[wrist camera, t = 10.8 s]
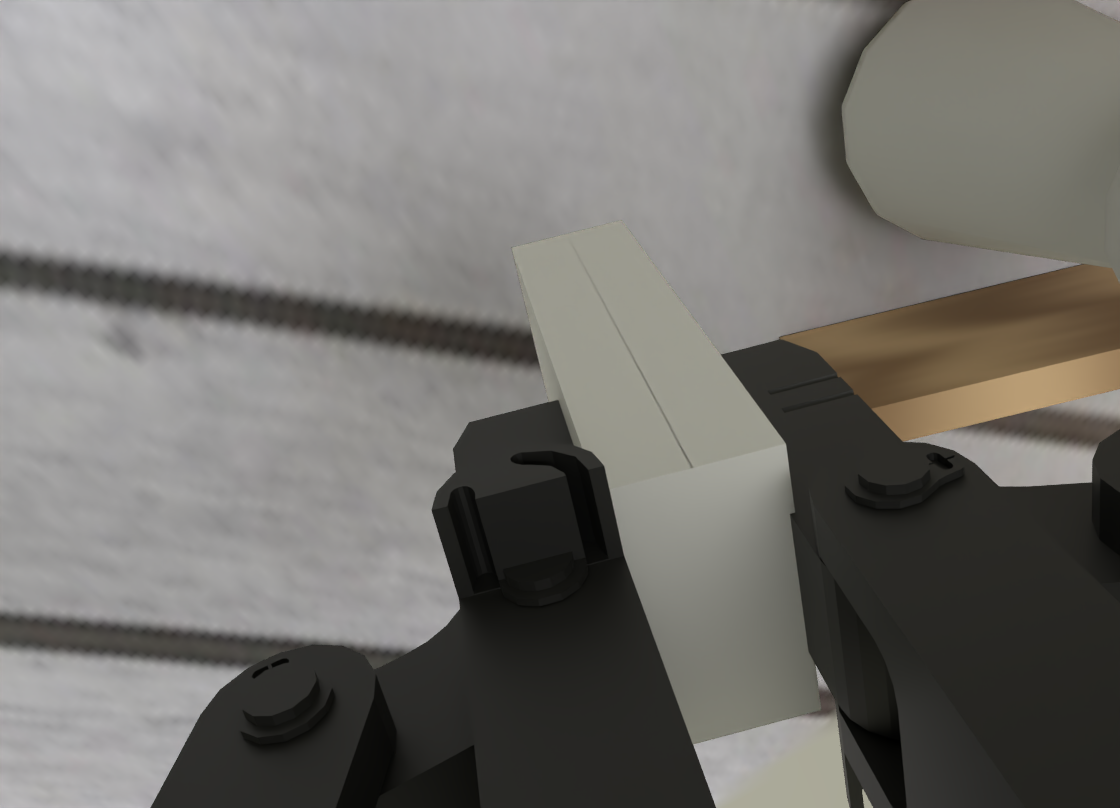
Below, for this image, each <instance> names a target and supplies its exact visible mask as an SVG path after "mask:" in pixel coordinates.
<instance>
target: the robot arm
mask: <svg viewBox="0 0 1120 808" xmlns="http://www.w3.org/2000/svg"><path fill="white" fill-rule="evenodd" d="M511 248H512V252H513V256H514V260H515V265H516V269H517V273H518V277H519V281H520V285H521V289H522V294H523V298H524V302H525V306H526V310H527V314H528V319H529V323H530V327H531V331H532V335H533V339H534V344H535V348H536V352H537V356H538V360H539V364H540V369H541V373H542V377H543V381H544V385H545V389H546V393H547V398H548V402H547V403H544V404H540V405H536V406H532V407H528V408H524V409H520V410H516V411H512V412H508V413H504V414H500V415H496V416H492V417H489V418H485V419H481V420H477V421H473V422H469V424H468V425H467V427H466V429H465V430H464V432H463V434H462V435H461V437H460V439H459V440H458V442H457V443H456V445H455V447H454V448H453V452H454V461H455V469H456V473H454V474H453V475H452V476H451V477H450V478H449V479H448V480H447V481H446V483H445V484H444V485H443V486H442V487H441V488H440V489H439V490H438V491H437V493H436V497H435V500H434V504H433V507H432V513H433V516H434V520H435V523H436V526H437V529H438V533H439V536H440V539H441V542H442V545H443V549H444V552H445V555H446V558H447V562H448V565H449V568H450V571H451V574H452V578H453V581H454V584H455V587H456V591H457V594H458V597H459V602H460V610H459V611H458V612H457V613H456V615H455V616H454V617H453V618H452V620H451V621H450V622H449V623H448V625H447V626H446V627H444V628H443V629H442V630H441V631H440V632H438V633H437V634H436V635H435V636H434V637H432V638H431V639H430V640H429V641H428V642H426V643H424V644H423V645H421V646H419V647H417V648H416V649H414V650H412V651H411V652H409V653H407V654H406V655H404V656H402V657H400V658H398V659H396V660H394V661H392V662H390V663H388V664H386V665H384V666H382V667H380V668H378V669H376V670H373V668H372V667H371V665H370V663H369V662H368V660H367V659H366V657H365V656H364V655H362V654H360V653H358V652H355V651H353V650H351V649H349V648H346V647H344V646H333V645H311V646H306V647H302V648H298V649H294V650H289V651H285V652H281V653H279V654H276V655H274V656H272V657H269V658H268V659H266V660H263V661H261V662H259V663H257V664H256V665H253V666H251V667H249V668H247V669H246V670H245V671H244V672H242V673H241V674H240V675H238V676H237V677H236V678H235V679H233V680H232V681H231V682H229V683H228V684H227V685H225V686H224V687H223V688H222V689H220V690H219V692H218V693H217V694H216V696H215V697H214V698H213V699H212V701H211V702H210V703H209V705H208V706H207V707H206V709H205V710H204V711H203V712H202V714H201V715H200V717H199V719H198V721H197V723H196V724H195V726H194V728H193V730H192V732H191V734H190V736H189V737H188V739H187V741H186V743H185V745H184V747H183V749H182V750H181V752H180V754H179V756H178V758H177V760H176V762H175V763H174V765H173V767H172V769H171V771H170V773H169V775H168V777H167V778H166V780H165V782H164V784H163V786H162V788H161V790H160V791H159V793H158V795H157V797H156V799H155V801H154V803H153V804H152V806H151V808H716V807H715V804H714V801H713V798H712V796H711V793H710V790H709V787H708V785H707V782H706V779H705V776H704V774H703V771H702V768H701V765H700V763H699V760H698V757H697V754H696V752H695V749H694V746H693V744H696V743H700V742H704V741H707V740H711V739H715V738H719V737H722V736H726V735H730V734H734V733H737V732H741V731H745V730H748V729H752V728H756V727H760V726H763V725H767V724H771V723H775V722H778V721H782V720H786V719H789V718H793V717H797V716H801V715H804V714H808V713H812V712H816V711H819V710H821V704H820V697H819V689H818V682H817V674H816V667H815V664H816V666H817V668H818V670H819V671H820V673H821V675H822V677H823V679H824V680H825V682H826V684H827V686H828V687H829V689H830V691H831V693H832V695H833V696H834V698H835V704H836V712H837V720H838V728H839V735H840V744H841V752H842V760H843V768H844V776H845V784H846V792H847V798H848V802H849V807H850V808H864V804H863V795H862V789H864V791H865V793H866V795H867V797H868V799H869V801H870V802H871V804H872V806H873V808H1120V430H1118V431H1117V432H1115V433H1114V434H1112V435H1111V436H1109V437H1108V438H1106V439H1105V440H1103V441H1102V442H1100V443H1099V446H1098V448H1097V450H1096V453H1095V455H1094V458H1093V461H1092V483H1077V484H1061V485H1046V486H1030V487H1000V486H998V485H997V484H996V483H995V482H994V481H993V480H991V479H990V478H989V477H988V476H987V475H986V474H985V473H984V472H983V471H982V470H981V469H980V468H979V467H978V466H977V465H976V464H975V463H973V462H972V461H970V460H968V459H967V458H965V457H964V456H962V455H960V454H959V453H957V452H955V451H954V450H950V449H946V448H943V447H939V446H935V445H931V444H927V443H916V442H903V441H902V440H901V439H900V438H899V437H898V436H897V435H896V434H895V433H894V432H893V431H892V430H891V429H890V428H889V427H888V426H887V425H886V424H885V423H884V422H883V421H882V419H881V418H880V417H879V416H878V415H877V414H876V413H875V412H874V411H873V410H872V409H871V408H870V407H869V406H868V405H867V404H866V403H865V402H864V401H863V400H862V399H861V397H860V396H859V395H858V394H856V395H854V392H853V389H852V388H851V387H850V386H849V385H848V384H847V383H846V382H845V381H844V380H843V379H842V378H841V377H838V376H837V372H836V371H835V370H834V369H833V368H832V367H831V366H830V365H829V364H828V363H827V362H826V361H825V360H824V359H823V358H822V357H821V356H820V355H819V354H818V353H817V352H815V351H813V350H810V349H807V348H804V347H802V346H799V345H796V344H794V343H791V342H788V341H786V340H783V339H781V340H777V341H773V342H769V343H765V344H761V345H757V346H753V347H750V348H746V349H742V350H738V351H734V352H730V353H726V354H722V355H720V353H719V352H718V351H717V349H716V348H715V347H714V345H713V344H712V342H711V341H710V340H709V338H708V337H707V336H706V334H705V333H704V332H703V330H702V329H701V327H700V326H699V325H698V323H697V322H696V321H695V319H694V318H693V317H692V315H691V314H690V313H689V311H688V310H687V308H686V307H685V306H684V304H683V303H682V302H681V300H680V299H679V298H678V296H677V295H676V293H675V292H674V291H673V289H672V288H671V287H670V285H669V284H668V283H667V281H666V280H665V278H664V277H663V276H662V274H661V273H660V272H659V270H658V269H657V268H656V266H655V265H654V264H653V262H652V261H651V259H650V258H649V257H648V255H647V254H646V253H645V251H644V250H643V249H642V247H641V246H640V244H639V243H638V242H637V240H636V239H635V238H634V236H633V235H632V234H631V232H630V231H629V229H628V228H627V227H626V225H625V224H624V223H623V221H622V220H620V221H616V222H612V223H608V224H604V225H600V226H596V227H592V228H588V229H584V230H580V231H576V232H572V233H568V234H564V235H560V236H556V237H552V238H548V239H544V240H540V241H536V242H532V243H528V244H524V245H519V246H515V247H511Z"/></svg>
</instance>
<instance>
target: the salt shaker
mask: <svg viewBox="0 0 1120 808" xmlns="http://www.w3.org/2000/svg"><path fill="white" fill-rule="evenodd" d="M841 109H842V120H843V131H844V141H845V152H846V163H847V164H848V166H849V168H850V170H851V172H852V173H853V175H854V177H855V179H856V180H857V182H858V184H859V186H860V187H861V189H862V191H863V193H864V194H865V196H866V198H867V200H868V202H869V203H870V205H871V207H872V208H873V210H874V211H875V213H876V214H877V215H878V216H880V217H882V218H884V219H885V220H887V221H889V222H891V223H893V224H895V225H897V226H899V227H901V228H902V229H904V230H906V231H908V232H910V233H912V234H914V235H916V236H918V237H920V238H921V239H925V240H931V241H938V242H944V243H951V244H957V245H964V246H970V247H977V248H983V249H990V250H996V251H1003V252H1009V253H1016V254H1022V255H1029V256H1035V257H1042V258H1049V259H1055V260H1062V261H1068V262H1075V263H1081V264H1088V265H1094V266H1101V267H1107V268H1112V269H1113V271H1114V273H1115V275H1116V277H1117V279H1118V281H1119V283H1120V22H1118V21H1116V20H1114V19H1112V18H1110V17H1108V16H1106V15H1104V14H1102V13H1100V12H1098V11H1096V10H1093V9H1091V8H1089V7H1087V6H1085V5H1083V4H1081V3H1079V2H1077V1H1075V0H910V1H908V2H906V3H904V4H903V5H902V6H901V7H900V9H899V10H898V11H897V12H896V13H895V14H894V15H893V17H892V18H891V19H890V20H889V21H888V22H887V23H886V25H885V26H884V27H883V28H882V29H881V30H880V31H879V33H878V34H877V35H876V36H875V37H874V38H873V39H872V41H871V42H870V43H869V44H868V45H867V46H866V47H865V49H864V50H863V52H862V54H861V57H860V60H859V62H858V65H857V68H856V70H855V73H854V76H853V78H852V81H851V83H850V86H849V89H848V91H847V94H846V96H845V98H844V101H843V104H842V107H841Z"/></svg>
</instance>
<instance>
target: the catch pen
mask: <svg viewBox="0 0 1120 808" xmlns="http://www.w3.org/2000/svg"><path fill="white" fill-rule="evenodd" d="M781 339H783V340H786V341H788V342H791V343H794V344H796V345H799V346H802V347H804V348H807V349H810V350H813V351H815V352H817V353H818V354H819V355H820V356H821V357H822V358H823V359H824V360H825V361H826V362H827V363H828V364H829V365H830V366H831V367H832V368H833V369H834V370H835V371H836V372H837V376H838V377H841V378H842V379H843V380H844V381H845V382H846V383H847V384H848V385H849V386H850V387H851V388H852V389H853V392H854V395H856V394H858V395H859V396H860V397H861V399H862V400H863V401H864V402H865V403H866V404H867V405H868V406H869V407H870V408H871V409H872V410H873V411H874V412H875V413H876V414H877V415H878V416H879V417H880V418H881V419H882V421H883V422H884V423H885V424H886V425H887V426H888V427H889V428H890V429H891V430H892V431H893V432H894V433H895V434H896V435H897V436H898V437H899V438H900V439H901V440H902V441H907V440H911V439H915V438H919V437H923V436H927V435H932V434H936V433H940V432H944V431H948V430H952V429H956V428H960V427H965V426H969V425H973V424H977V423H981V422H985V421H989V420H993V419H998V418H1002V417H1006V416H1010V415H1014V414H1018V413H1022V412H1026V411H1031V410H1035V409H1039V408H1043V407H1047V406H1051V405H1055V404H1059V403H1064V402H1068V401H1072V400H1076V399H1080V398H1084V397H1088V396H1092V395H1097V394H1101V393H1105V392H1109V391H1113V390H1117V389H1120V283H1119V281H1118V279H1117V277H1116V275H1115V273H1114V271H1113V269H1112V268H1107V267H1101V266H1094V265H1088V264H1083V265H1079V266H1074V267H1070V268H1066V269H1062V270H1058V271H1054V272H1049V273H1045V274H1041V275H1037V276H1033V277H1029V278H1024V279H1020V280H1016V281H1012V282H1008V283H1004V284H999V285H995V286H991V287H987V288H983V289H979V290H974V291H970V292H966V293H962V294H958V295H954V296H949V297H945V298H941V299H937V300H933V301H929V302H924V303H920V304H916V305H912V306H908V307H904V308H899V309H895V310H891V311H887V312H883V313H879V314H874V315H870V316H866V317H862V318H858V319H854V320H849V321H845V322H841V323H837V324H833V325H829V326H824V327H820V328H816V329H812V330H808V331H804V332H799V333H795V334H791V335H787V336H783V337H780V340H781Z"/></svg>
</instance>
